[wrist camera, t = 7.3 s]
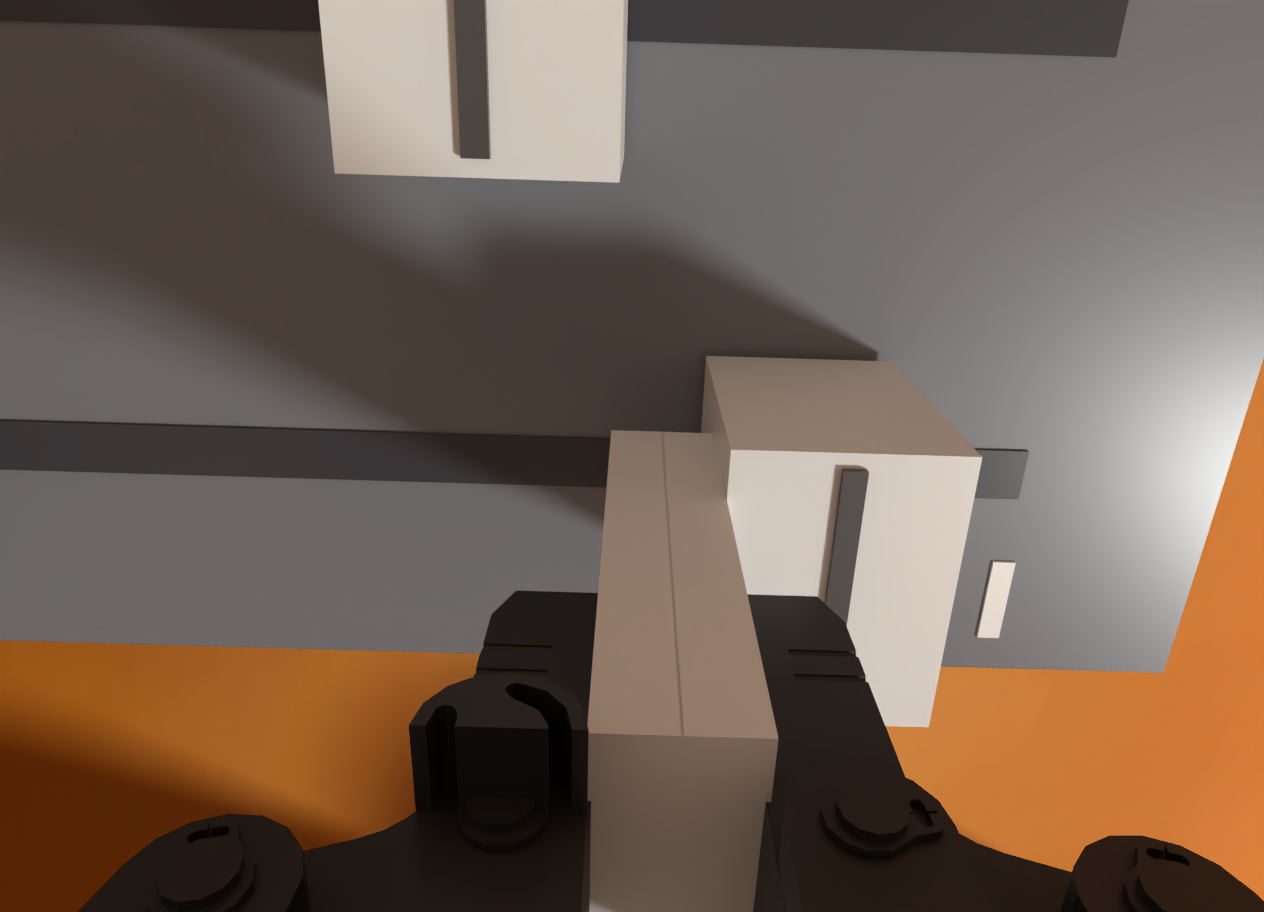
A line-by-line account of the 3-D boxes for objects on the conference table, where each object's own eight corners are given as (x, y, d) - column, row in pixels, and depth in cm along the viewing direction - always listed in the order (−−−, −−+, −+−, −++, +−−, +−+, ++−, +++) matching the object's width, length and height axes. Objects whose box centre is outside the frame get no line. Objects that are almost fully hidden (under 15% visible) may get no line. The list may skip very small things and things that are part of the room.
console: (-129, 579, 18) (-218, 636, 16) (-446, -332, 13) (-638, -407, 11) (1110, 614, 19) (1165, 674, 17) (1358, -266, 13) (1484, -328, 11)
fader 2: (691, 572, 16) (710, 725, 12) (705, 355, 14) (732, 452, 10) (859, 577, 16) (930, 731, 12) (891, 361, 14) (985, 460, 10)
